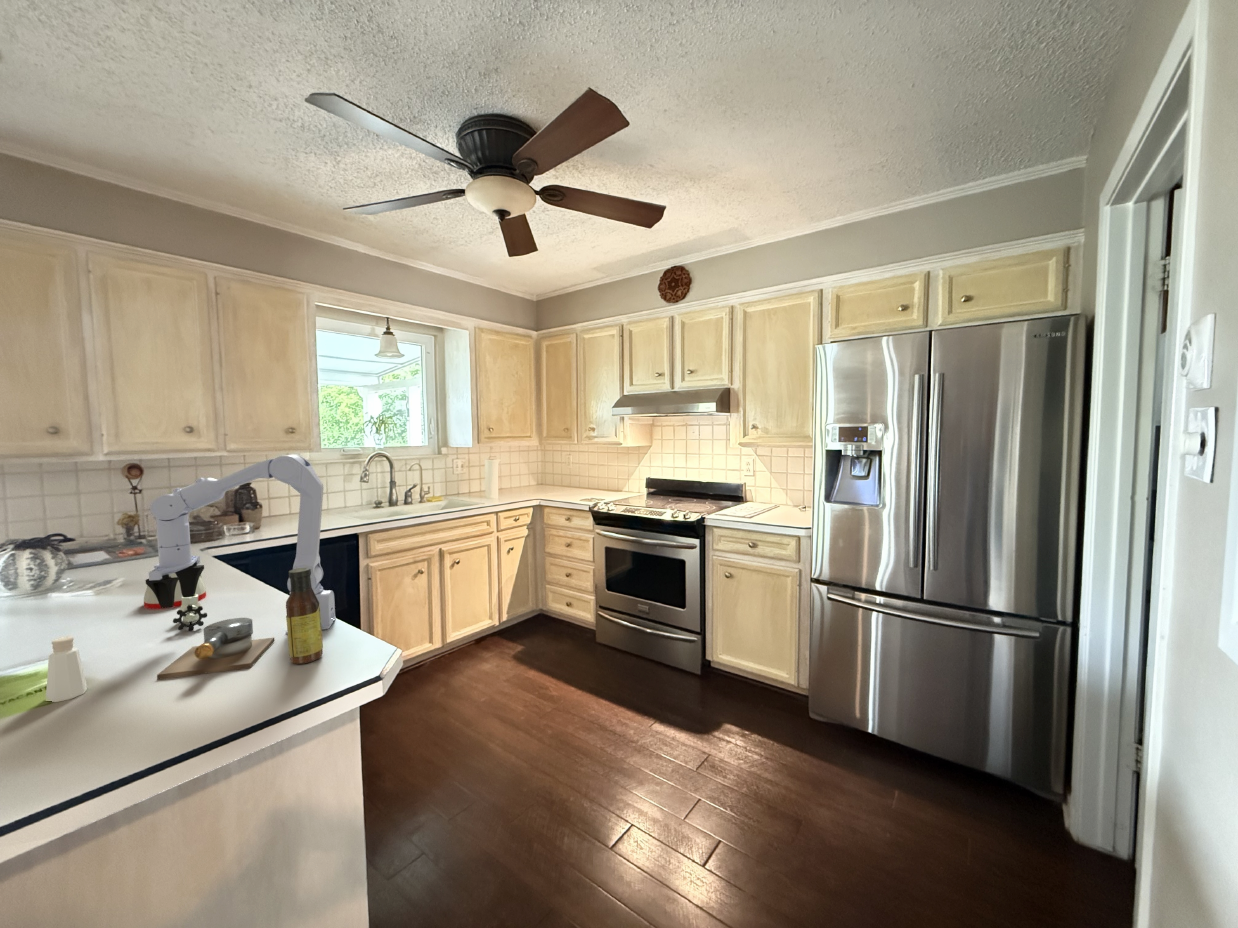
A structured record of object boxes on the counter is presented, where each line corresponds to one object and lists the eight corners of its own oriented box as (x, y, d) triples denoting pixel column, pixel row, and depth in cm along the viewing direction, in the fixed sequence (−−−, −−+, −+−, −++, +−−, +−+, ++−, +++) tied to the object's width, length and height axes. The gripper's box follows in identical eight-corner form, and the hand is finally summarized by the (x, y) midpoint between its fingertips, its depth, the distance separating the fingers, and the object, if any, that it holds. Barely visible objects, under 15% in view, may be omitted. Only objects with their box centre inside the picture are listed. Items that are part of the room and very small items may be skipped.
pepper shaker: (49, 705, 91) (44, 646, 90) (42, 697, 94) (37, 640, 93) (91, 692, 96) (87, 636, 95) (83, 685, 99) (79, 630, 98)
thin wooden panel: (274, 641, 119) (273, 626, 118) (250, 667, 105) (249, 650, 105) (193, 650, 114) (192, 634, 114) (157, 679, 101) (156, 661, 100)
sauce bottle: (329, 654, 111) (325, 566, 110) (304, 667, 105) (299, 574, 104) (308, 650, 113) (303, 564, 112) (281, 662, 107) (276, 572, 106)
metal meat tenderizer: (215, 632, 114) (214, 619, 114) (259, 627, 117) (258, 615, 117) (177, 662, 99) (176, 647, 99) (229, 656, 102) (228, 642, 102)
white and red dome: (178, 609, 142) (174, 557, 141) (130, 609, 142) (126, 557, 141) (217, 593, 156) (215, 546, 155) (174, 593, 156) (171, 546, 155)
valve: (175, 621, 133) (173, 634, 124) (173, 596, 132) (172, 608, 123) (207, 615, 137) (208, 627, 128) (205, 591, 137) (206, 602, 128)
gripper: (175, 539, 123) (179, 593, 124) (130, 553, 109) (135, 614, 110) (208, 537, 125) (211, 591, 125) (168, 551, 110) (172, 611, 111)
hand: (178, 601), depth 118 cm, fingers open, 7 cm apart
